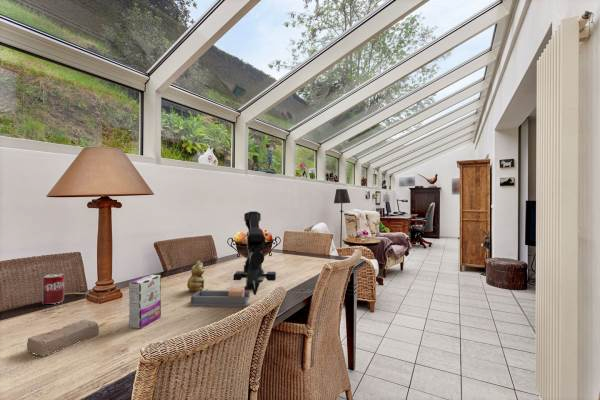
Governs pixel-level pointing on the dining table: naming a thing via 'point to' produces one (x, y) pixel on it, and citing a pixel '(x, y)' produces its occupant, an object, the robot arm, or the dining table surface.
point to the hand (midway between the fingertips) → (255, 294)
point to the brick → (62, 337)
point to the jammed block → (236, 292)
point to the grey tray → (218, 299)
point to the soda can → (53, 289)
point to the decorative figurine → (196, 277)
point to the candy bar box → (144, 301)
